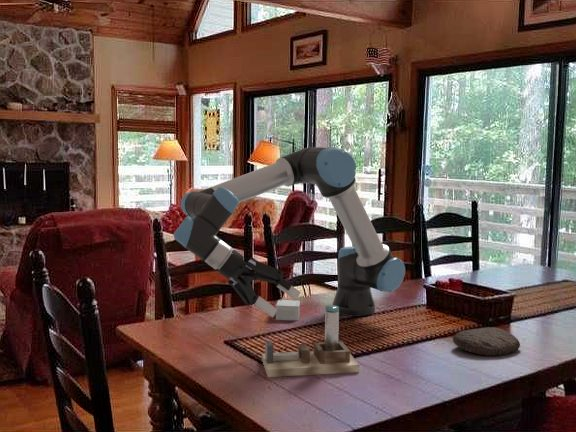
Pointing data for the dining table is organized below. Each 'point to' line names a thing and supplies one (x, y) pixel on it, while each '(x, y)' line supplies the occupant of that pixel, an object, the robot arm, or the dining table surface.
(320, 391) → the dining table surface
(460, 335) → the decorative stone
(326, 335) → the silver cylinder
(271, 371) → the dock
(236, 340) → the dining table surface
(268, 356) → the lock pin
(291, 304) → the small box
